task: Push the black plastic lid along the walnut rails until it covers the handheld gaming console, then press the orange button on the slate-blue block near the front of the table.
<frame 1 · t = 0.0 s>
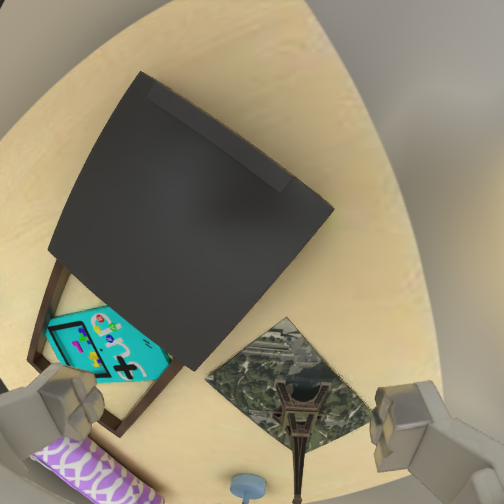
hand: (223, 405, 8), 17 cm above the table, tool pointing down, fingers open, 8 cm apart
handheld gaming console: (102, 345, 29), resting in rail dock
eiffel tower figurine: (294, 397, 28), on the table
lid: (159, 232, 21), point 3 cm above the table, slide at 0.0 cm
pencil case: (106, 455, 36), on the table
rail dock: (128, 298, 27), on the table
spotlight: (246, 480, 33), on the table
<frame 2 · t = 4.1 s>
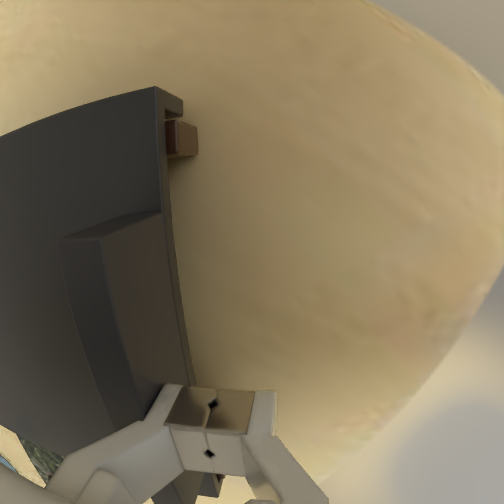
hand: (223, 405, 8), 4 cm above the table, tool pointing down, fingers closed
eiffel tower figurine: (76, 480, 19), on the table
lid: (9, 344, 10), point 3 cm above the table, slide at 0.3 cm, touching gripper
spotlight: (5, 461, 23), on the table
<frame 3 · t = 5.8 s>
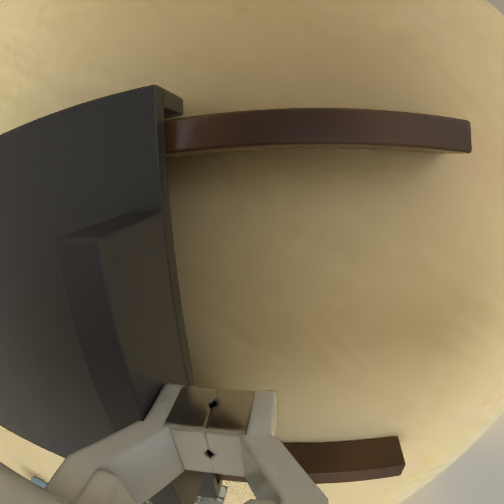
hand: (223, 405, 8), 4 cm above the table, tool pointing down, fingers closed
lid: (7, 344, 10), point 3 cm above the table, slide at 8.7 cm, touching gripper
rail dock: (50, 315, 13), on the table
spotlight: (47, 486, 21), on the table
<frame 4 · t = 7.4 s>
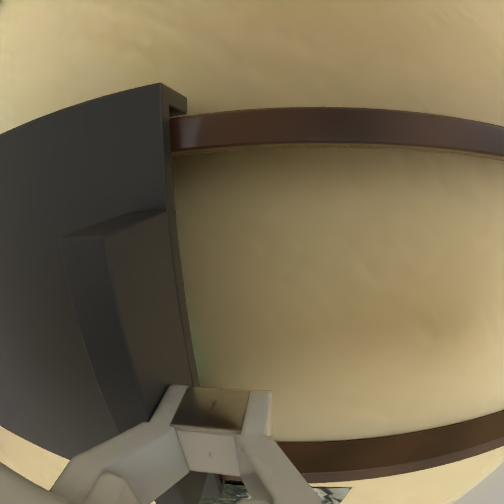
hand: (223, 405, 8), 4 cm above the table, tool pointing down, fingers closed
lid: (9, 345, 10), point 3 cm above the table, slide at 16.1 cm, touching gripper
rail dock: (188, 328, 12), on the table
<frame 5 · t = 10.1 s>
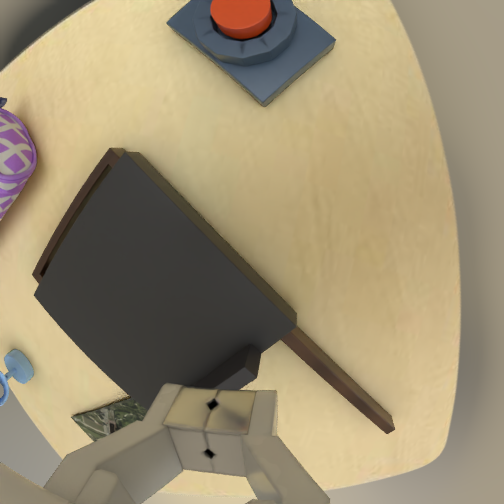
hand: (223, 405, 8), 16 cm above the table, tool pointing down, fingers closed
eiffel tower figurine: (129, 432, 31), on the table
lid: (135, 314, 22), point 3 cm above the table, slide at 16.0 cm
button: (242, 11, 15), point 4 cm above the table, slide at 0.1 cm
button block: (250, 34, 19), on the table
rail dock: (215, 358, 26), on the table
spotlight: (23, 361, 31), on the table
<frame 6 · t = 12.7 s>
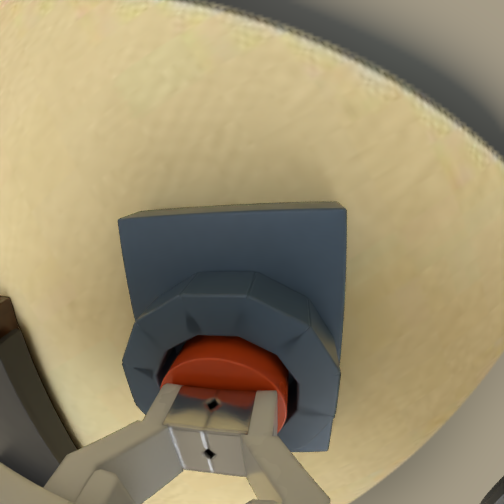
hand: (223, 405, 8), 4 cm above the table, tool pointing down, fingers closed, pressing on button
button: (226, 391, 9), point 3 cm above the table, slide at -0.6 cm, touching gripper
button block: (243, 336, 12), on the table
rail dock: (41, 462, 19), on the table
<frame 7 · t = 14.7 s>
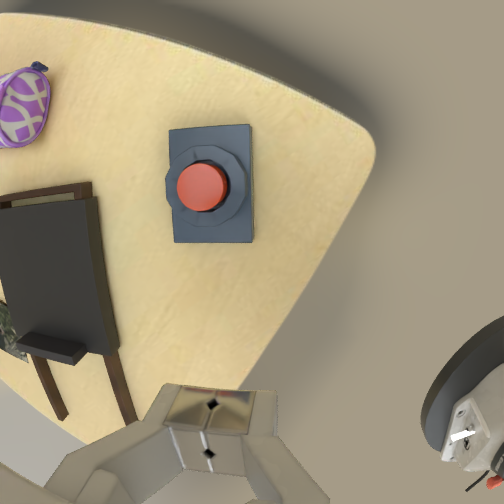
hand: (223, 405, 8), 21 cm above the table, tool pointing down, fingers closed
lid: (37, 281, 29), point 3 cm above the table, slide at 16.0 cm
button: (202, 186, 24), point 4 cm above the table, slide at 0.1 cm
pencil case: (3, 114, 28), on the table
button block: (213, 183, 28), on the table
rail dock: (66, 329, 34), on the table
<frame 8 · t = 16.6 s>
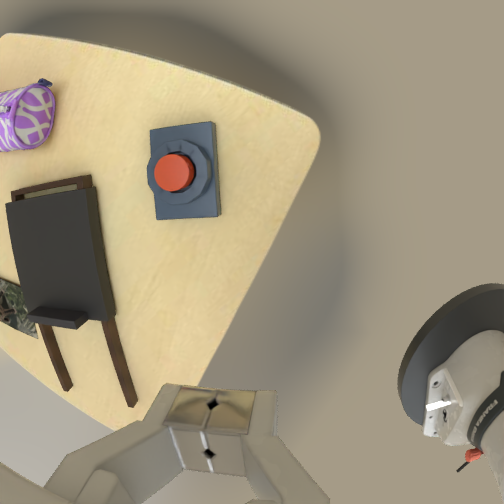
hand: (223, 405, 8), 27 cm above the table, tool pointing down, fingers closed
eiffel tower figurine: (8, 302, 43), on the table
lid: (47, 259, 35), point 3 cm above the table, slide at 16.0 cm
button: (174, 172, 29), point 4 cm above the table, slide at 0.1 cm
pencil case: (15, 121, 34), on the table
button block: (187, 171, 33), on the table
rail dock: (71, 302, 40), on the table
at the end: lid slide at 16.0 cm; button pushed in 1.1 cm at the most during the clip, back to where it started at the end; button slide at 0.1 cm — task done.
